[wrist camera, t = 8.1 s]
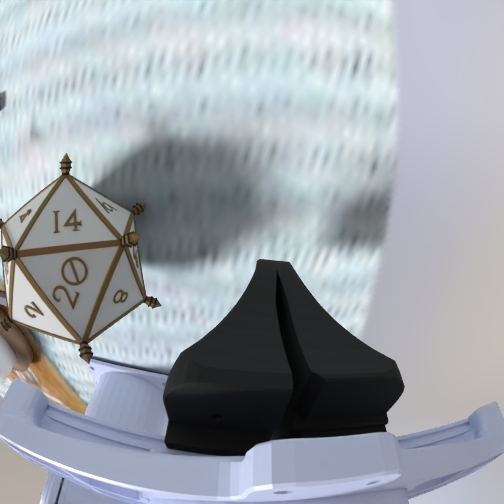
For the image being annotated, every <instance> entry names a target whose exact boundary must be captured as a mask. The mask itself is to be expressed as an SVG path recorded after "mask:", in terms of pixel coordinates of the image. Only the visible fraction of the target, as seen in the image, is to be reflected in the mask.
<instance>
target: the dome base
mask: <svg viewBox="0 0 504 504" xmlns="http://www.w3.org/2000/svg"><path fill="white" fill-rule="evenodd" d="M8 317H9V316H8V315H7V314H6V313H5V312H4V311H3V310H2V309H1V308H0V322H3V321H4V320H3V319H7V318H8ZM0 325H1V323H0ZM0 334H1V335H2V336H3V338H4V339H5V340H6V341H7V342H8V344H9V345H10V347H11V348H12V350H13V351H14V353H15V355H16V359H17V361H16V363H15V365H14V367H13V368H12V369H14V370H17V371H21V372H22V371H26V370H27V368H28V367H29V365H30V363H31V361H32V359H33V351H32V349H31V346H30V344H29V342H28V341H27V339H26V337H25V336H24V334H23V333H22V332H21V330H20V329H19V328H18V327H17V325H16V324H15V323H12V325H11V328H9V330H8V332H7V331H3V332H0Z"/></svg>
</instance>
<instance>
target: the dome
mask: <svg viewBox="0 0 504 504" xmlns="http://www.w3.org/2000/svg"><path fill="white" fill-rule="evenodd" d="M16 361H17V359H16V355H15V353H14V351H13V350H12V348H11V347H10V345H9V344H8V342H7V341H6V340H5V339H4V338H3V336H2V335H1V334H0V382H1V383H4V382H5V381H6V379H7V377H8V375H9V374H10V372H11V370H12V368H13V367H14V365H15V363H16Z"/></svg>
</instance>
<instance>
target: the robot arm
mask: <svg viewBox="0 0 504 504" xmlns="http://www.w3.org/2000/svg"><path fill="white" fill-rule="evenodd" d="M86 364H87V366H88V368H89V370H90V372H91V374H92V376H93V378H94V380H95V382H96V386H95V389H94V391H93V394H92V396H91V399H90V401H89V404H88V407H87V409H86V412H85V415H84V414H81V413H78V412H75V411H72V410H70V409H67V408H64V407H62V406H59V405H57V404H54V403H52V402H49V401H48V399H47V397H46V396H45V394H44V393H43V392H42V391H41V390H39V389H38V388H36V387H34V386H32V385H30V384H28V383H26V382H24V381H21V380H19V379H17V378H14V380H13V381H12V383H11V385H10V387H9V389H8V391H7V393H6V395H5V397H4V399H3V401H2V403H1V405H0V439H1V440H3V441H4V442H5V443H6V444H8V445H9V446H10V447H11V448H13V449H14V450H15V451H17V452H18V453H19V454H21V455H22V456H23V457H25V458H27V459H28V460H30V461H32V462H34V463H36V464H38V465H39V466H41V467H43V468H45V469H47V470H49V472H48V475H47V479H46V482H45V485H44V489H43V493H42V496H41V500H40V504H409V503H408V499H411V498H414V497H417V496H419V495H422V494H425V493H427V492H430V491H433V490H435V489H437V488H440V487H442V486H445V485H447V484H449V483H451V482H454V481H456V480H458V479H460V478H463V477H465V476H467V475H469V474H471V473H473V472H475V471H477V470H479V469H480V468H482V467H483V466H485V465H486V464H488V463H490V462H491V461H493V460H494V459H495V458H497V457H498V456H500V455H501V454H503V453H504V418H503V416H502V413H501V411H500V408H499V406H498V404H497V402H493V403H491V404H488V405H485V406H482V407H480V408H479V409H477V410H476V411H474V412H473V413H472V414H471V415H470V416H469V418H468V419H465V420H462V421H458V422H455V423H452V424H448V425H445V426H441V427H438V428H434V429H430V430H426V431H421V432H417V433H413V434H408V435H404V436H398V437H396V436H395V435H393V434H391V433H389V432H387V431H386V427H385V425H386V424H387V423H388V417H387V411H388V410H389V409H390V408H391V407H392V406H393V405H394V404H395V403H396V401H397V400H398V399H399V397H400V396H401V395H402V393H403V391H404V383H403V380H402V377H401V374H400V371H399V369H398V367H397V364H396V362H395V361H394V360H392V359H391V358H389V357H387V356H385V355H383V354H381V353H380V352H378V351H376V350H374V349H372V348H371V347H369V346H368V345H366V344H365V343H363V342H362V341H360V340H359V339H358V338H356V337H355V336H353V335H352V334H351V333H350V332H348V331H347V330H346V329H345V328H343V327H342V326H341V325H340V324H339V323H338V322H337V321H335V320H334V319H333V318H332V317H331V316H330V315H329V314H328V313H327V312H326V311H325V310H324V309H323V307H322V306H321V305H320V304H319V303H318V302H317V301H316V299H315V298H314V297H313V296H312V294H311V293H310V292H309V290H308V289H307V288H306V286H305V285H304V283H303V282H302V280H301V279H300V277H299V276H298V274H297V273H296V271H295V270H294V268H293V267H292V265H291V264H290V262H284V261H274V260H264V259H259V260H258V261H257V264H256V269H255V272H254V275H253V277H252V279H251V281H250V283H249V285H248V287H247V288H246V290H245V292H244V293H243V295H242V296H241V298H240V299H239V301H238V302H237V304H236V305H235V306H234V307H233V309H232V310H231V311H230V312H229V313H228V315H227V316H226V317H225V318H224V319H223V320H222V321H221V322H220V323H219V324H218V325H217V326H216V327H215V328H214V329H212V330H211V331H210V332H209V333H208V334H207V335H205V336H204V337H203V338H202V339H200V340H199V341H198V342H196V343H195V344H193V345H192V346H190V347H189V348H187V349H186V350H184V351H183V352H181V354H180V355H179V357H178V358H177V360H176V362H175V363H174V365H173V367H172V369H171V371H170V374H169V376H167V375H164V374H158V373H153V372H147V371H142V370H137V369H132V368H128V367H123V366H119V365H114V364H110V363H106V362H102V361H98V360H94V359H91V360H90V364H88V363H87V362H86Z"/></svg>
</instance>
